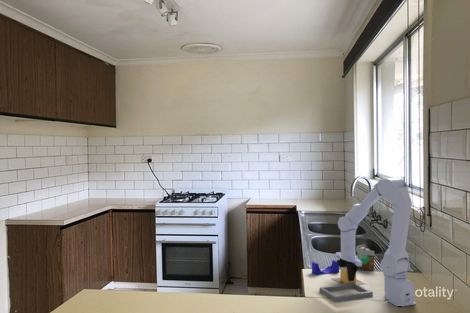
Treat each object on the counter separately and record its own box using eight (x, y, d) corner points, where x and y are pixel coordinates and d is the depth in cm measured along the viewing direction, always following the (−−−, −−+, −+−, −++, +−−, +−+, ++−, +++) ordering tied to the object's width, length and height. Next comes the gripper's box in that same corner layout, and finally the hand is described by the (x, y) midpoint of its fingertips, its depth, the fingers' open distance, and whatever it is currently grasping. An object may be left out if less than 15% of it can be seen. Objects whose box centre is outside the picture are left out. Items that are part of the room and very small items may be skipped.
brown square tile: (366, 286, 135) (366, 284, 135) (345, 289, 132) (345, 286, 132) (350, 278, 145) (350, 276, 145) (330, 281, 142) (330, 278, 142)
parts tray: (372, 298, 123) (372, 292, 123) (335, 304, 118) (335, 297, 118) (354, 289, 132) (354, 282, 132) (319, 294, 127) (319, 287, 127)
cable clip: (333, 272, 154) (333, 259, 154) (339, 275, 150) (339, 261, 150) (310, 274, 151) (310, 261, 151) (315, 277, 146) (315, 263, 147)
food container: (352, 265, 165) (352, 244, 165) (365, 265, 164) (365, 244, 165) (361, 273, 152) (361, 250, 153) (374, 273, 152) (374, 251, 152)
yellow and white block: (356, 282, 138) (356, 268, 138) (345, 283, 136) (345, 269, 136) (350, 279, 141) (350, 266, 141) (340, 280, 139) (340, 267, 139)
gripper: (368, 249, 133) (368, 283, 133) (345, 241, 147) (345, 272, 147) (353, 250, 131) (353, 285, 131) (331, 242, 145) (331, 274, 144)
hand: (348, 279), depth 138 cm, fingers closed on yellow and white block, 3 cm apart
